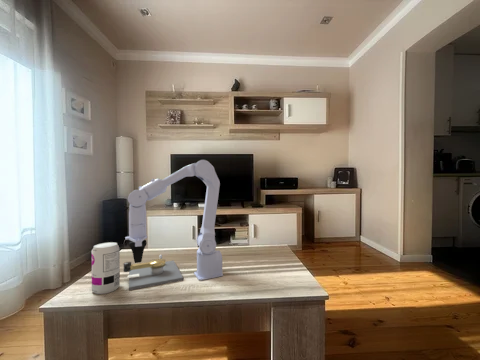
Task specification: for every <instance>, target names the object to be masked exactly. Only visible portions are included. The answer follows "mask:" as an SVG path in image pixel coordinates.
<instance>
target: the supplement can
mask: <svg viewBox="0 0 480 360" xmlns="http://www.w3.org/2000/svg"><path fill="white" fill-rule="evenodd" d="M120 254H121V253H120V247H119V245H118V242H113V241H110V242H109V241H107V242H102V243H98V244H95V245H93V248H92V249H91V292H92V293H94V294H95V295H105V294H109V293H112V292H114V291H116V290H117V289H118V288H119V287H120V284H121V283H120V282H121V280H120V277H121V275H120V273H121V270H120V267H121V266H120V262H121V261H120V258H121V257H120V256H121V255H120Z"/></svg>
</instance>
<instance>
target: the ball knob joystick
mask: <svg viewBox="0 0 480 360" xmlns="http://www.w3.org/2000/svg"><path fill="white" fill-rule="evenodd" d="M165 262H166V259H165V258H162V259H159V258H156V259H152V260H150V261H147V262H139V263H133V264H132V261H126V262H124V263H123V273H129V271H131V270H135V269H141V268H148V267H150V268H160V267H163V266H165V265H166V263H165Z"/></svg>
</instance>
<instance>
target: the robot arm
mask: <svg viewBox="0 0 480 360" xmlns="http://www.w3.org/2000/svg"><path fill="white" fill-rule="evenodd" d="M194 176H195V177H197V178H198V179H200V180H201V181H202V182H203V183H204V184H205V186H206V192H205V200H204V207H203V215H202V220H201V221H202V222H201V223H202V224H201V227H200V229H199V233H198V235H197V237H196V244H197V245H198V249H197V250H196V271H194V272H193V274H194V276H195V277H196V279H197V280H198V281H204V280H209V279H215V278H218V277H219V278H221V277H223V276H224V274H223V254H222V252H221V251H220V250H216V248H217V242H216V237H215V236H216V232H215V224H216V217H217V211H218V202H219V201H218V200H219V196H220V195H219V193H220V186H221V183H220V179H219V177H218V175H217V172H216V170H215V167H214V166H213V165H212V163H210V161H208V160H206V159H200V160H198V161H197V162H194V163H191V164H188V165H185V166H183V167H182V168H180V169H179V170H176V171H174V172H173V173H171V174H170V175H168V176H166V177H164V178H163V179H162V178H156V179H155V178H152V179H150V182H148V183H146V184H144V185H143V186H142V185H139V186H138V189H134V190H132V191H131V192H130V193H129V194H128V197H127V201H128V203H129V207H128V209H129V210H128V235H127V236H125V237H124V238H125V240H126V241H129V243H128V245H129V248H130V249H131V252H132V256H133V257H132V258H133V261H134V264H139V263H142V261H143V256H144V255H143V254H144V251H145V248H146V247H147V243H148V242H147V240H146V239H147V238H148V234H147V209H146V207H147V204H146V203H147V201H152V200H153V199H155V198H157V197H159V196H160V195H162V194H164V193H166V192H167V188H168V187H169V186H170V185H172V184H174V183H177V182H178V181H180V180H182V179H184V178H186V177H194Z"/></svg>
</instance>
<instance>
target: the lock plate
mask: <svg viewBox="0 0 480 360" xmlns="http://www.w3.org/2000/svg"><path fill="white" fill-rule="evenodd" d="M158 257H159V258H158V259H163V254H159V256H158ZM165 263H166V265H165V266H163V267H160V268H150V267H148V268H141V269H135V270H131V271H129V272H128V275H127V279H128V291H133V290H138V289H144V288H149V287H155V286H161V285H164V284H165V285H166V284H170V283H174V282H175V283H177V282H181V281H184V277H183V275H182V273H181V271H180V269H179V267H178V265H177V264H176V262H175V260H170V261H169V260H168V261H165Z"/></svg>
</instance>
